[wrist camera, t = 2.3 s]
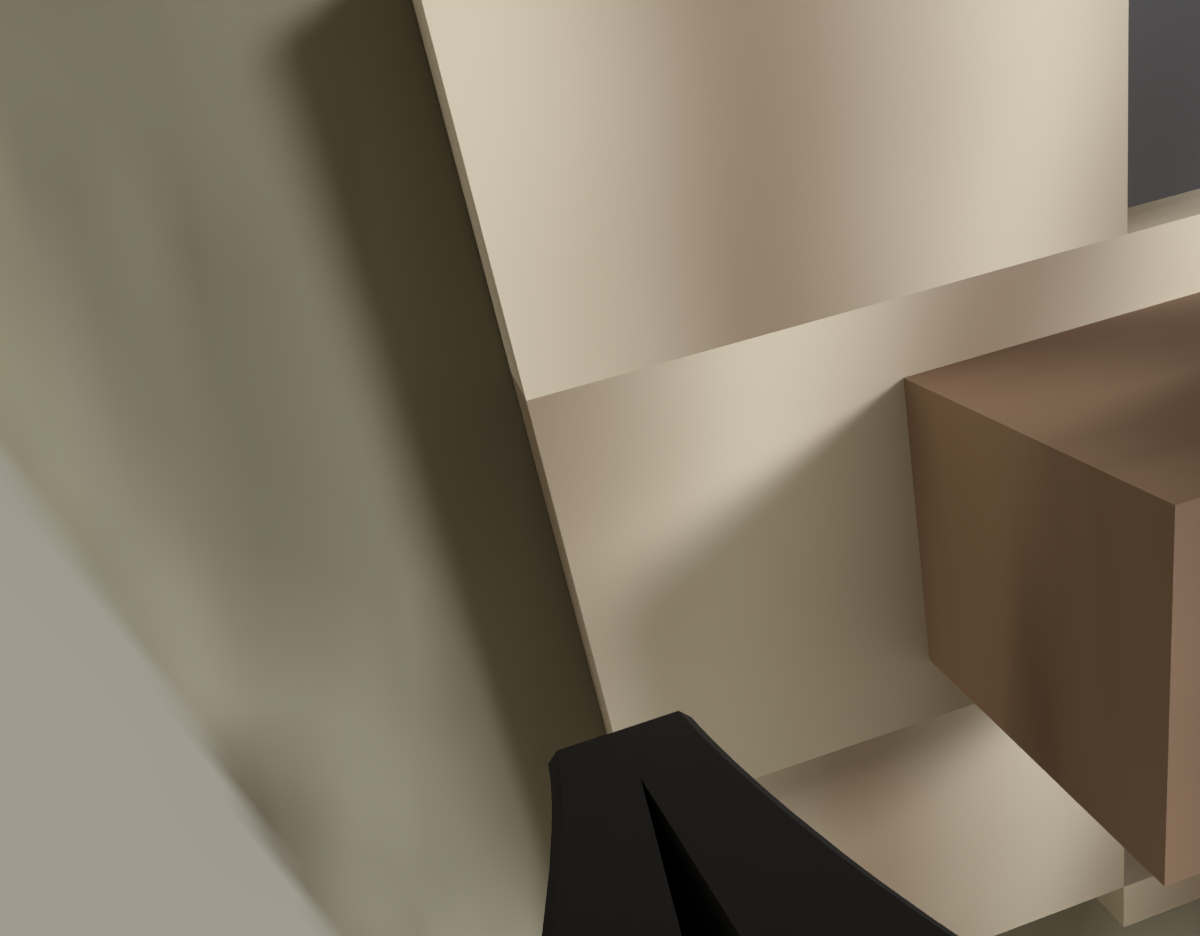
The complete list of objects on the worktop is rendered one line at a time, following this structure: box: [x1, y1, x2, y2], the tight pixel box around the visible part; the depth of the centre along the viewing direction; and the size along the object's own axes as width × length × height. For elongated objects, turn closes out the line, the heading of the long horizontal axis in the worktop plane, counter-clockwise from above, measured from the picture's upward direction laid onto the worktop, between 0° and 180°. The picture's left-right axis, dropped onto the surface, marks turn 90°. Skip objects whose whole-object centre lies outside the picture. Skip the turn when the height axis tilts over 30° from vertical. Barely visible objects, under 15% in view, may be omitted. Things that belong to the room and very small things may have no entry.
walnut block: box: [903, 292, 1200, 887], centre depth 11 cm, size 4×4×4 cm
